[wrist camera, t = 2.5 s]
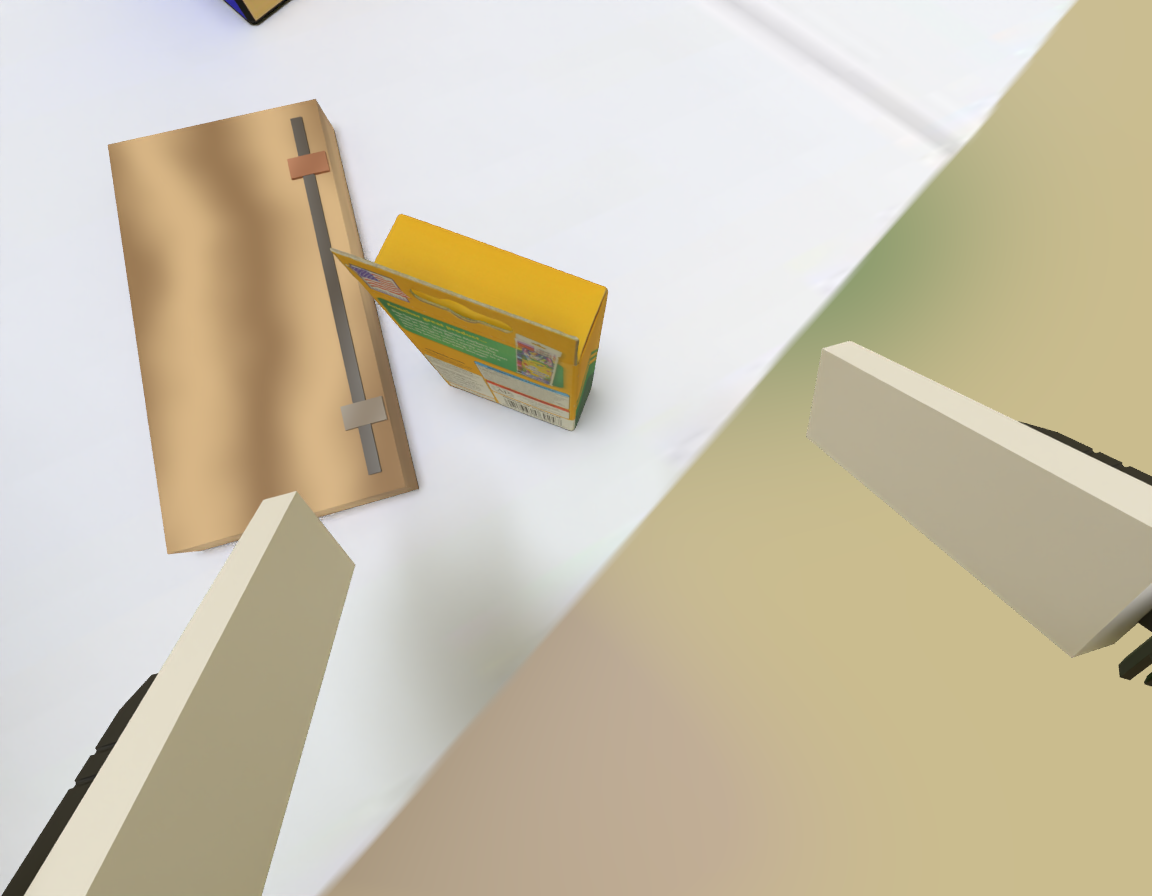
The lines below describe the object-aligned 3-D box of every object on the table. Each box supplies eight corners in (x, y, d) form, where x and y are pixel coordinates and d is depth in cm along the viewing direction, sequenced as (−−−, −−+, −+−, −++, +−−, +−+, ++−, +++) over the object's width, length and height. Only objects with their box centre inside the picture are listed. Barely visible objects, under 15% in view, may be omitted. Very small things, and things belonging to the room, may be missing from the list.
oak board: (201, 550, 21) (165, 554, 19) (141, 172, 24) (105, 142, 22) (418, 488, 22) (404, 486, 20) (333, 128, 25) (314, 96, 23)
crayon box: (593, 382, 23) (621, 248, 11) (573, 433, 22) (581, 348, 11) (468, 335, 23) (371, 158, 11) (446, 384, 22) (322, 251, 11)
